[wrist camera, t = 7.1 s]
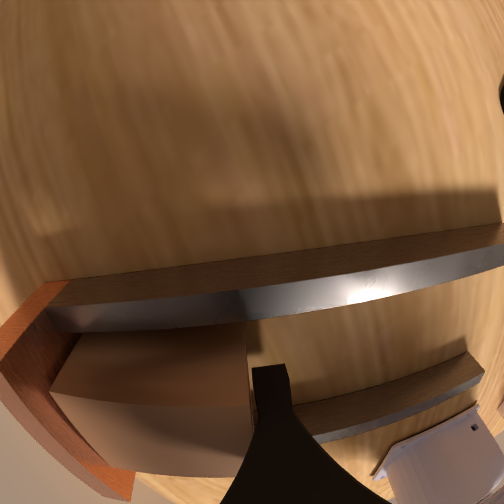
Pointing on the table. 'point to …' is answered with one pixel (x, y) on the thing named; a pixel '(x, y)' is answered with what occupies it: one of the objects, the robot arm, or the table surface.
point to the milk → (501, 409)
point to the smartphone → (502, 99)
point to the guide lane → (236, 310)
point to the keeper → (162, 398)
